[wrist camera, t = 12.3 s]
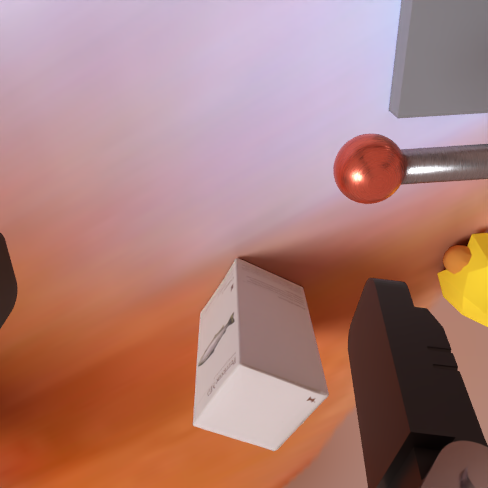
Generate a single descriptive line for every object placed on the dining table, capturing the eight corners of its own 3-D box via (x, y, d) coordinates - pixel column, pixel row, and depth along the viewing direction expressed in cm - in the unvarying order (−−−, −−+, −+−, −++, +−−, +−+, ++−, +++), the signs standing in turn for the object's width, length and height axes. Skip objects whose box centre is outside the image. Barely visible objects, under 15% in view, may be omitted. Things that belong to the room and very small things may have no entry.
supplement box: (235, 254, 40) (241, 361, 29) (305, 286, 42) (333, 397, 32) (197, 311, 43) (189, 427, 33) (263, 338, 46) (276, 455, 35)
